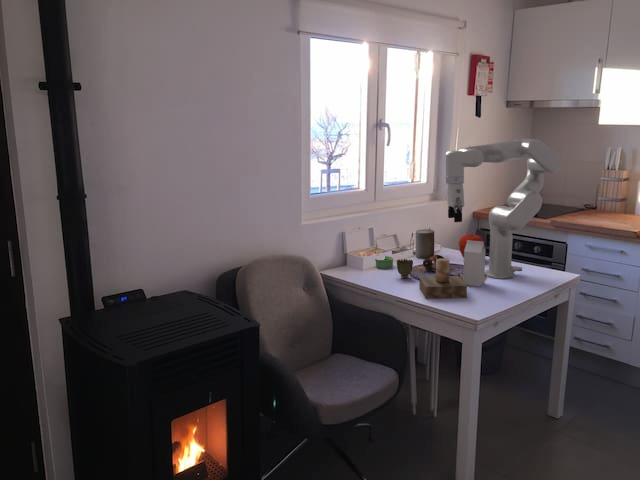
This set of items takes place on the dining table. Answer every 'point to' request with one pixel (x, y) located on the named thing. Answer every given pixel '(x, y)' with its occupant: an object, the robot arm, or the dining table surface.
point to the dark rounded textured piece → (404, 267)
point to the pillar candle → (424, 243)
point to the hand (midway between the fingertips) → (454, 219)
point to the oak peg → (442, 270)
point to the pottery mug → (430, 260)
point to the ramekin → (385, 262)
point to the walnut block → (443, 288)
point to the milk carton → (474, 263)
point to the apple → (464, 241)
